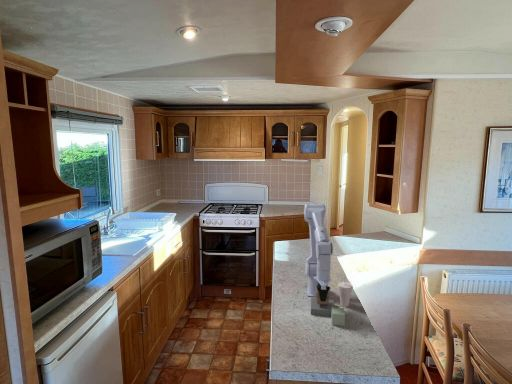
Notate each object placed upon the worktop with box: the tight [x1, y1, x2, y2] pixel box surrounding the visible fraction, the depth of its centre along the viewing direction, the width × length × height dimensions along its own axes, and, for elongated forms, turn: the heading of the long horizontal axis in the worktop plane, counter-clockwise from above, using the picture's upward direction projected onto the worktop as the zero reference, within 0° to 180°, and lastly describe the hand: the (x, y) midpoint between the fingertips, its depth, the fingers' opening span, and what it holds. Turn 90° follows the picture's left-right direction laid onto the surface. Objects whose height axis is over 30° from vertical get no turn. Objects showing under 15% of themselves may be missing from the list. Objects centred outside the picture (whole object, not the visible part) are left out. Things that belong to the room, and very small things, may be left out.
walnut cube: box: [316, 289, 330, 305], centre depth 138 cm, size 5×5×5 cm
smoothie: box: [337, 274, 354, 308], centre depth 142 cm, size 6×6×14 cm
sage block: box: [330, 306, 346, 327], centre depth 128 cm, size 5×5×5 cm
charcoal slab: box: [310, 297, 335, 317], centre depth 138 cm, size 10×10×3 cm
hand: (322, 298), depth 138 cm, fingers closed on walnut cube, 5 cm apart
